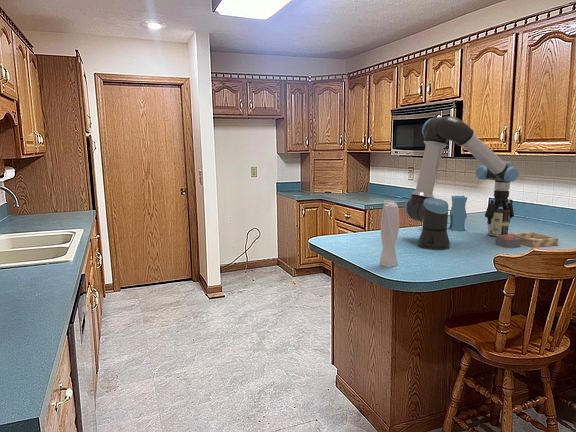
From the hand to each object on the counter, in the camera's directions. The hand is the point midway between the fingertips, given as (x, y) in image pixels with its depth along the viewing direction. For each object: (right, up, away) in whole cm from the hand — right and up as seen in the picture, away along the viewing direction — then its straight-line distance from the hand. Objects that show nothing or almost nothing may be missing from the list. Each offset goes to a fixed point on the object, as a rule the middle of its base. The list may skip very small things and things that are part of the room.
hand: (498, 229), depth 240 cm
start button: (-7, -6, -24) cm, 25 cm away
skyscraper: (-75, -13, -58) cm, 96 cm away
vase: (-16, -1, +17) cm, 23 cm away
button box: (-7, -7, -24) cm, 26 cm away
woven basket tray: (+9, -6, -18) cm, 21 cm away
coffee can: (0, -3, 0) cm, 3 cm away
